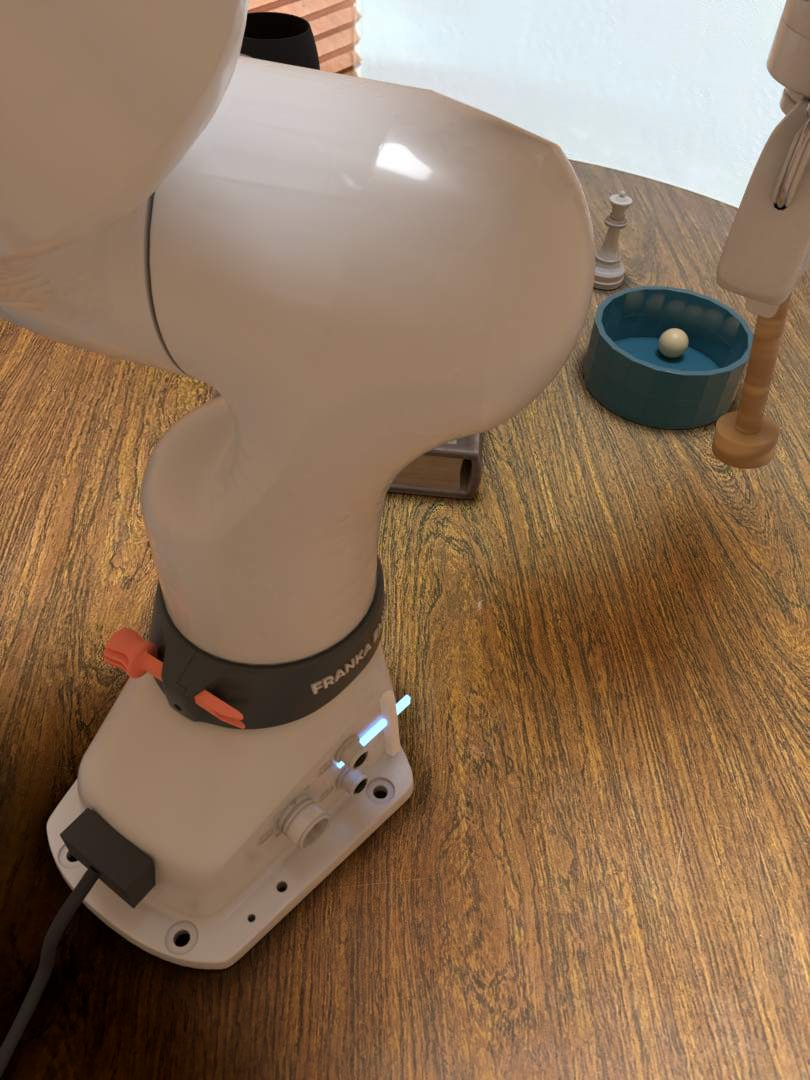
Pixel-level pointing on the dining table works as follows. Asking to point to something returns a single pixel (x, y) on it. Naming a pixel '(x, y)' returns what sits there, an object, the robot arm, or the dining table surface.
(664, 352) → the beige ball
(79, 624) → the dining table surface
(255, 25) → the wine glass
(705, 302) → the bowl
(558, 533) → the dining table surface
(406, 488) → the book
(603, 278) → the chess piece
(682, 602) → the dining table surface
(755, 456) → the wooden peg stand
